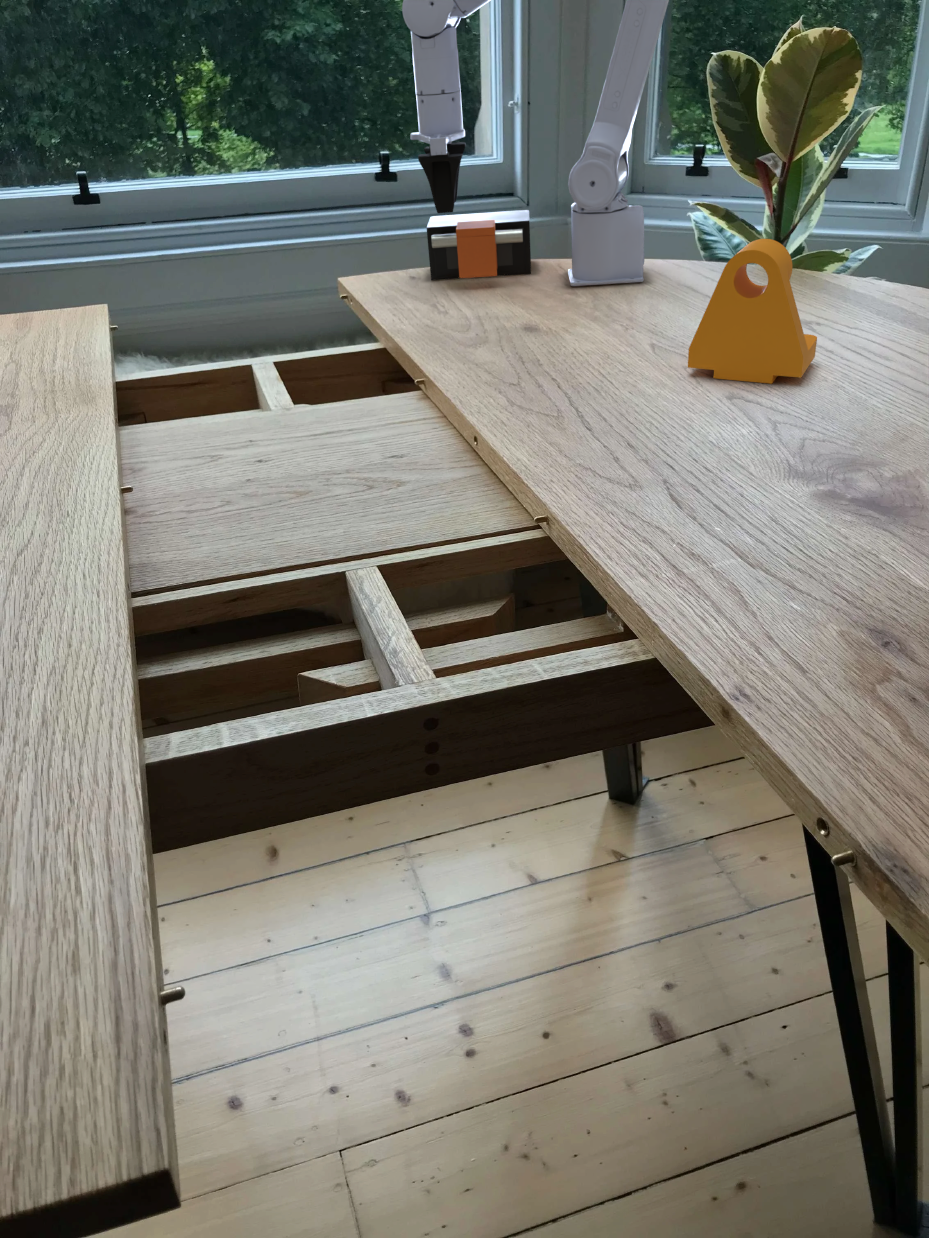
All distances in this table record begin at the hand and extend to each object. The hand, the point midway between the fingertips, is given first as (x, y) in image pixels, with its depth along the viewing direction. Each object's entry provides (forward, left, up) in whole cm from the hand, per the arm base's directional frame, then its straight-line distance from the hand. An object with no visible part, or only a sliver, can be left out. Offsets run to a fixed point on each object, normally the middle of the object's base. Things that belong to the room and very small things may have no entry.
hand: (447, 207), depth 131 cm
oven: (-4, -1, -9) cm, 10 cm away
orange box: (-4, +4, -8) cm, 10 cm away
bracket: (-32, +45, -10) cm, 56 cm away
